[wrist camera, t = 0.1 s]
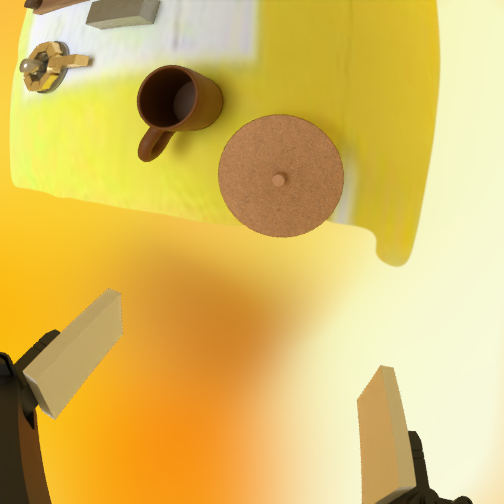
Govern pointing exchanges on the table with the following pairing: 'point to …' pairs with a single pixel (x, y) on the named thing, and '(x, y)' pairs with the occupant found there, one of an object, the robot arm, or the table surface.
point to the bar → (122, 13)
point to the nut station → (44, 68)
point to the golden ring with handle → (51, 65)
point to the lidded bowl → (281, 176)
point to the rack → (49, 5)
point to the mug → (175, 106)
